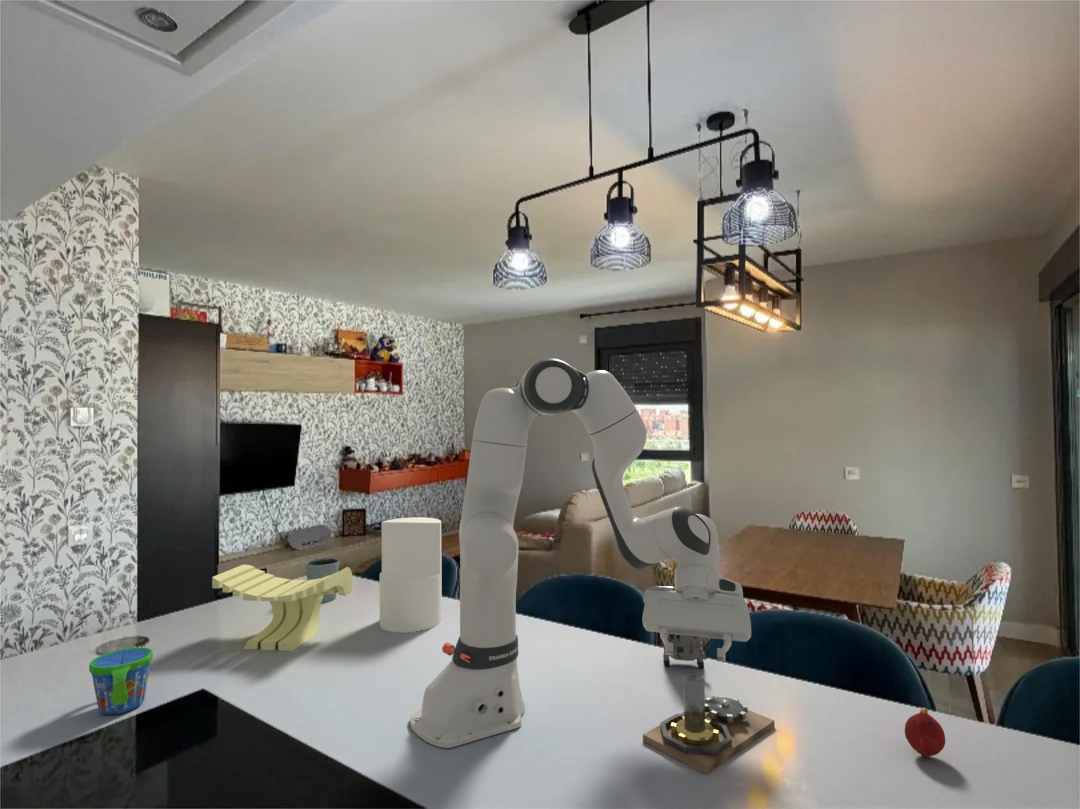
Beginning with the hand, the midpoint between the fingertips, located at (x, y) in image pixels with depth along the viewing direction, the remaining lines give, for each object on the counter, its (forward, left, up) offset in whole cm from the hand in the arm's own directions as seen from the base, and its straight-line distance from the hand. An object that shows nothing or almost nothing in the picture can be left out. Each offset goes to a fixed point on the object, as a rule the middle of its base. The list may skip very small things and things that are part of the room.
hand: (694, 656), depth 110 cm
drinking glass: (-23, +125, -13) cm, 128 cm away
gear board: (0, -3, -13) cm, 13 cm away
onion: (+21, -31, -13) cm, 40 cm away
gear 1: (-4, -3, -12) cm, 13 cm away
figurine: (+20, +17, -13) cm, 30 cm away
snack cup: (-80, +81, -13) cm, 114 cm away
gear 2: (+5, -3, -12) cm, 13 cm away
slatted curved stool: (-43, +98, -13) cm, 108 cm away
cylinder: (-12, +87, -13) cm, 89 cm away
